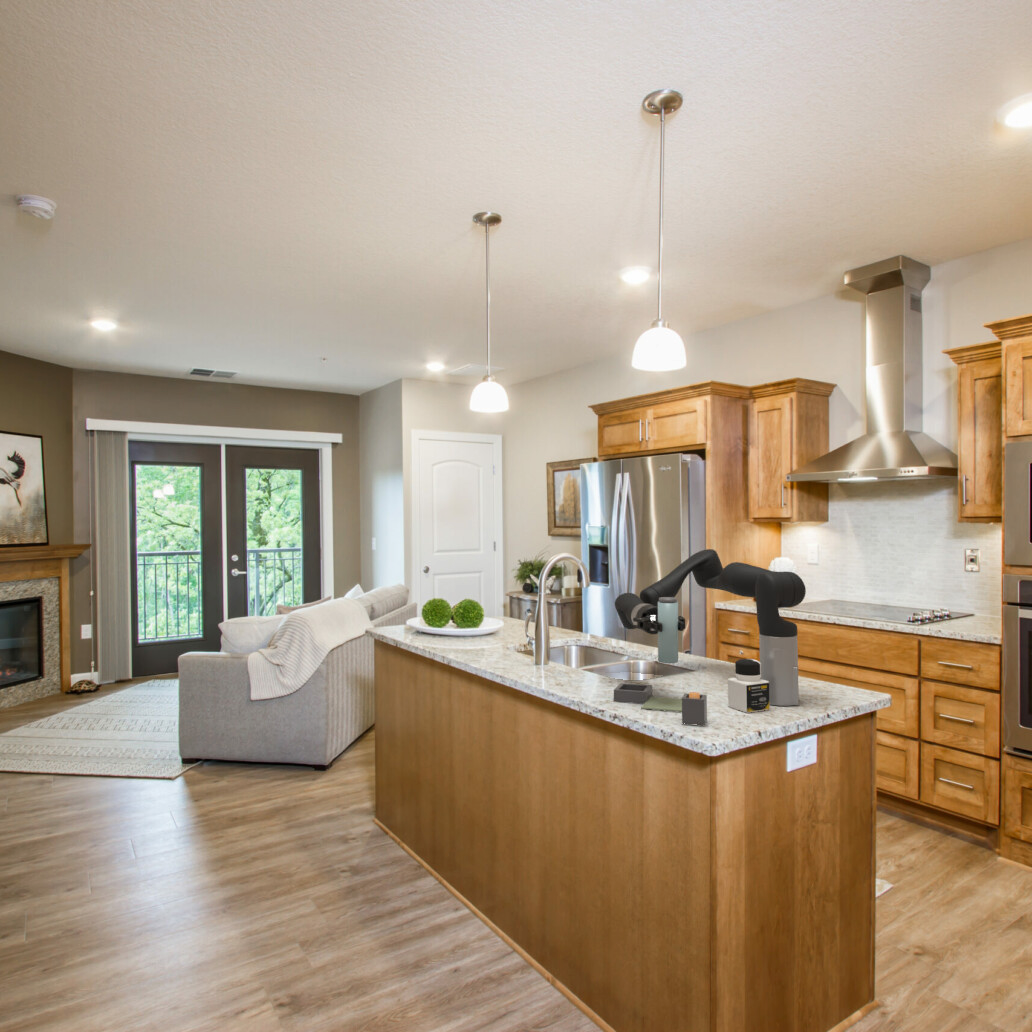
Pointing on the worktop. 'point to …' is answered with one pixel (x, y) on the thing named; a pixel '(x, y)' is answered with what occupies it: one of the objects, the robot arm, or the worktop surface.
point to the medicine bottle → (748, 687)
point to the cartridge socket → (632, 693)
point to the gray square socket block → (694, 710)
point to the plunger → (694, 695)
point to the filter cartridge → (668, 630)
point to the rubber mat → (663, 704)
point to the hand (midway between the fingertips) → (671, 627)
